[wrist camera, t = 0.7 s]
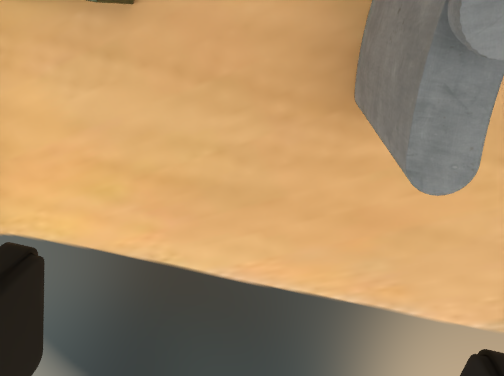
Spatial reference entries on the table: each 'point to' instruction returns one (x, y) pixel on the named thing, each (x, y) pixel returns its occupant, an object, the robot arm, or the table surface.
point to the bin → (114, 1)
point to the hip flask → (432, 84)
